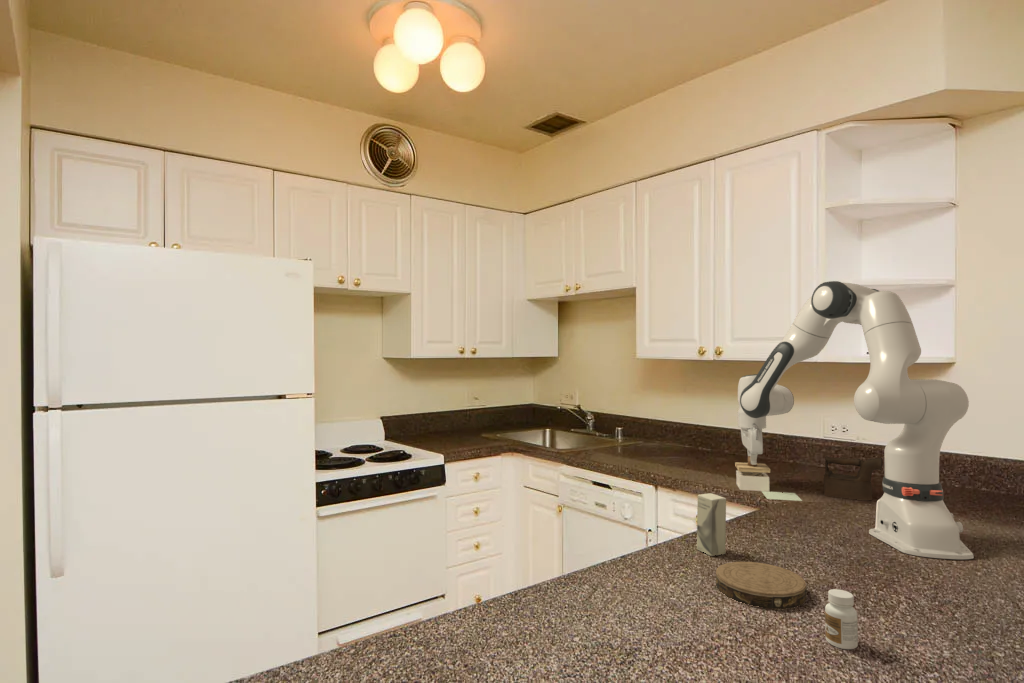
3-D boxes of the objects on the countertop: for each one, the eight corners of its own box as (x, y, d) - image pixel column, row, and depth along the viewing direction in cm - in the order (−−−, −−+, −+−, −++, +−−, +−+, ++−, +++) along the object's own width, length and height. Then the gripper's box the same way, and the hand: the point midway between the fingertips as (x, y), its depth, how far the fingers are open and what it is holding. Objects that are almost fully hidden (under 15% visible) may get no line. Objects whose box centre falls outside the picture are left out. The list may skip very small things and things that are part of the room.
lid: (770, 472, 185) (770, 460, 185) (739, 471, 188) (738, 458, 188) (765, 467, 194) (764, 454, 195) (735, 465, 197) (735, 453, 197)
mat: (802, 502, 173) (802, 500, 173) (767, 500, 176) (767, 498, 176) (794, 494, 183) (794, 493, 183) (761, 492, 185) (761, 491, 185)
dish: (769, 492, 185) (769, 477, 185) (740, 490, 188) (739, 475, 188) (764, 486, 194) (764, 471, 194) (736, 484, 196) (736, 470, 196)
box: (696, 549, 131) (695, 494, 132) (710, 547, 133) (710, 492, 133) (712, 557, 126) (711, 499, 127) (727, 554, 128) (727, 497, 128)
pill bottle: (819, 636, 91) (818, 587, 91) (845, 635, 91) (845, 587, 91) (836, 650, 87) (835, 599, 87) (864, 649, 87) (863, 599, 87)
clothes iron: (880, 504, 171) (880, 460, 171) (821, 496, 181) (821, 454, 181) (884, 499, 177) (883, 456, 177) (826, 491, 187) (826, 450, 187)
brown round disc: (702, 577, 116) (702, 562, 116) (777, 575, 117) (776, 560, 117) (739, 612, 100) (739, 595, 100) (825, 609, 101) (825, 592, 101)
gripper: (767, 426, 180) (768, 469, 180) (756, 419, 200) (757, 458, 200) (746, 425, 182) (747, 468, 182) (737, 418, 202) (738, 457, 202)
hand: (752, 463), depth 191 cm, fingers closed on lid, 3 cm apart
